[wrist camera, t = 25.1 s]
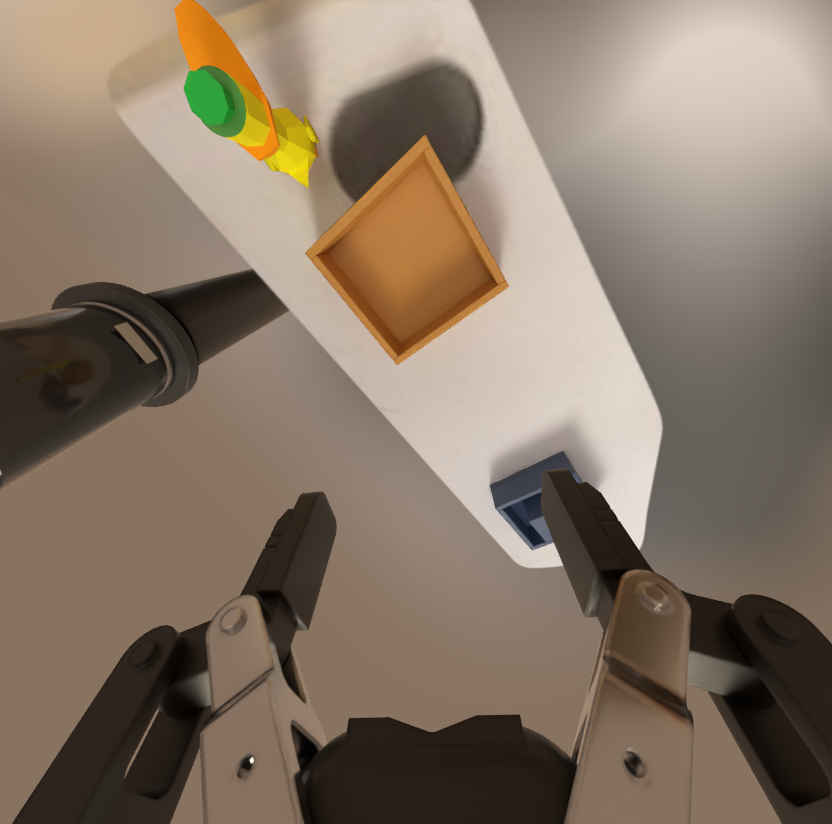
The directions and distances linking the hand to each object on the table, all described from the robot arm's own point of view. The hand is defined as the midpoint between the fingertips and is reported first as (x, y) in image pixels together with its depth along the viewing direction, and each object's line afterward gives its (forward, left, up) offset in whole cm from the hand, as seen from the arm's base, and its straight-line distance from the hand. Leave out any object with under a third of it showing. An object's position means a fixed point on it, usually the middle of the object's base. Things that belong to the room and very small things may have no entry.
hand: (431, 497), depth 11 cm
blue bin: (+15, -20, -20) cm, 32 cm away
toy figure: (-10, +14, -20) cm, 26 cm away
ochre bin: (-2, +6, -20) cm, 21 cm away
